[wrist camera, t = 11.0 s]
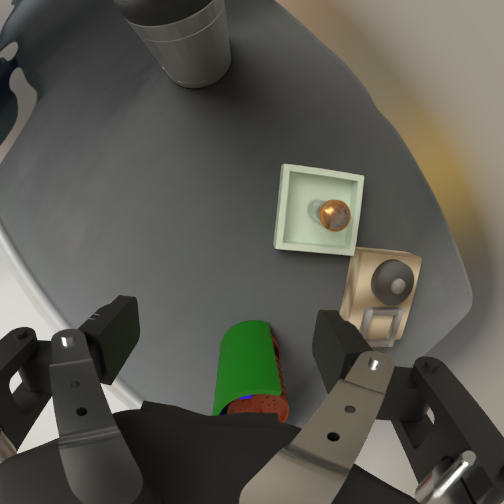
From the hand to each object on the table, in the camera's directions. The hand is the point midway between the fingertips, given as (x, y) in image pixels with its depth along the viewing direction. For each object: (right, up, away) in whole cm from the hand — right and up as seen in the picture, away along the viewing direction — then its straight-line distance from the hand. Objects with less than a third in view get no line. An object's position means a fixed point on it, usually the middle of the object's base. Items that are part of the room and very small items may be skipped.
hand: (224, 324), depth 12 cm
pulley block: (+20, -3, +28) cm, 34 cm away
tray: (+10, +9, +25) cm, 28 cm away
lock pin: (+10, +9, +25) cm, 28 cm away
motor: (+1, -12, +30) cm, 32 cm away
